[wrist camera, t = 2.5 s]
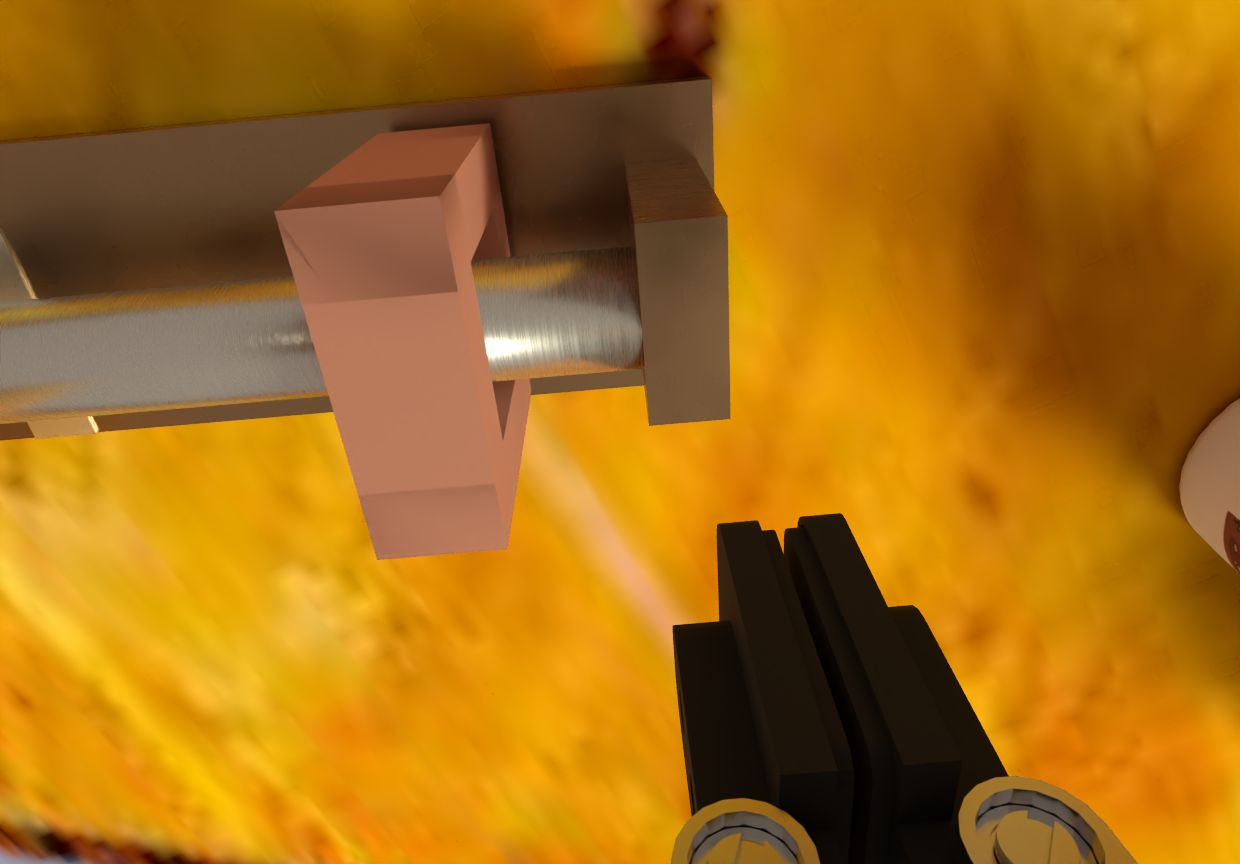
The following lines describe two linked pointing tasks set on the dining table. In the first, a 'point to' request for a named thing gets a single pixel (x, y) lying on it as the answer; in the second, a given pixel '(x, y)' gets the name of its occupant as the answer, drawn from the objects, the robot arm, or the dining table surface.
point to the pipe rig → (265, 287)
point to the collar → (412, 335)
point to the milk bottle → (1215, 485)
